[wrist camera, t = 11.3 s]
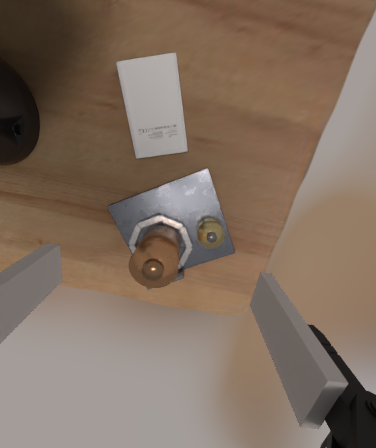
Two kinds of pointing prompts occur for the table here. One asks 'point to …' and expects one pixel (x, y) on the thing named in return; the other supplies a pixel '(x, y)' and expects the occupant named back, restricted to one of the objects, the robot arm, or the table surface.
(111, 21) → the table surface
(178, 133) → the external hard drive
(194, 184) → the plate
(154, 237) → the copper knobbed cylinder
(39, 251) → the robot arm
